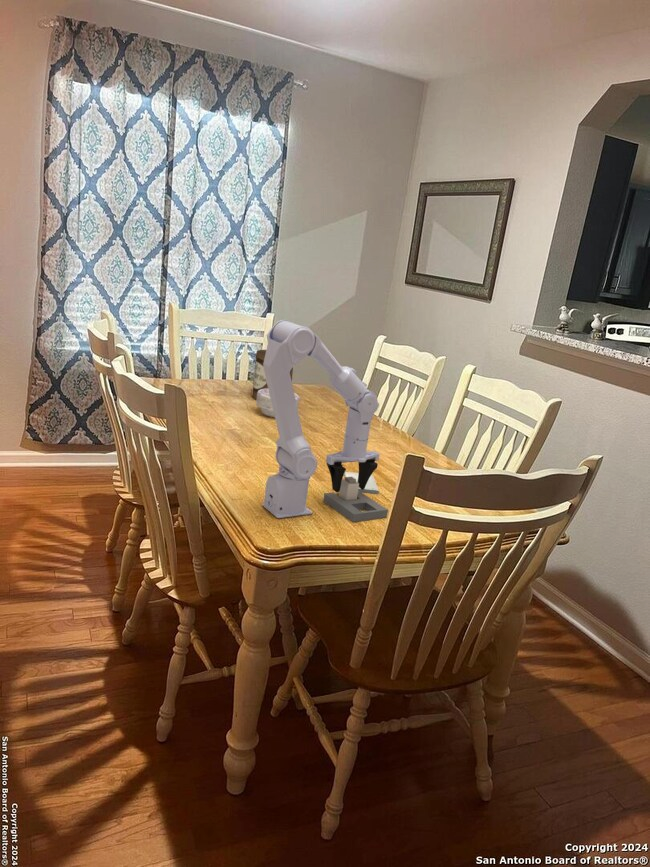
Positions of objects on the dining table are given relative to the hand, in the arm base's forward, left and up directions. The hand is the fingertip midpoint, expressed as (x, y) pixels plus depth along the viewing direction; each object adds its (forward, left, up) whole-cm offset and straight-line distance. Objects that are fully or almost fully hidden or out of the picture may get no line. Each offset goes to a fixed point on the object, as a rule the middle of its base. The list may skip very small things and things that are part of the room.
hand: (348, 489), depth 162 cm
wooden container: (+31, +97, -4) cm, 102 cm away
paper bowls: (+22, +76, -4) cm, 80 cm away
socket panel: (0, -4, -4) cm, 5 cm away
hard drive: (+12, +10, -4) cm, 16 cm away
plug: (0, 0, -4) cm, 4 cm away
